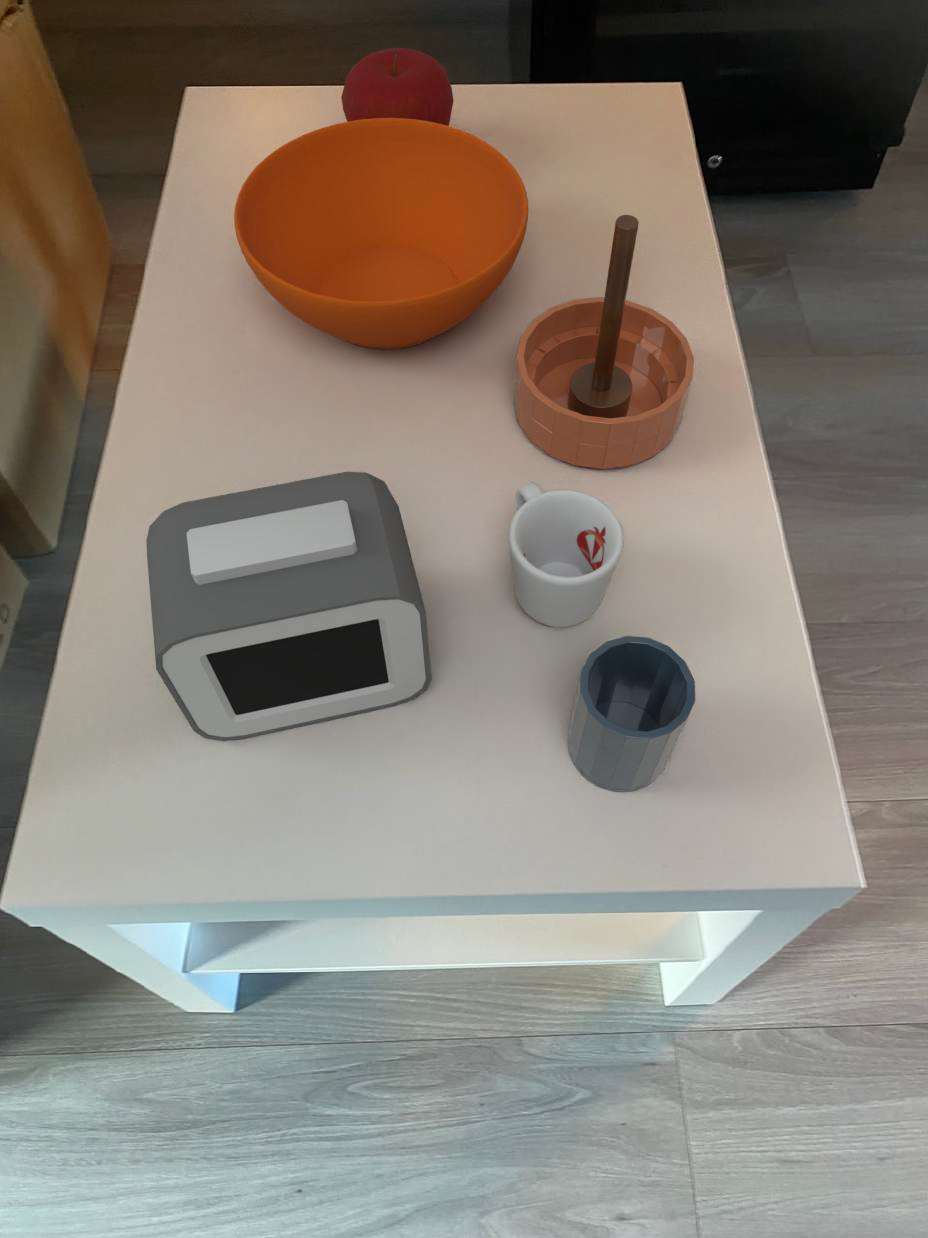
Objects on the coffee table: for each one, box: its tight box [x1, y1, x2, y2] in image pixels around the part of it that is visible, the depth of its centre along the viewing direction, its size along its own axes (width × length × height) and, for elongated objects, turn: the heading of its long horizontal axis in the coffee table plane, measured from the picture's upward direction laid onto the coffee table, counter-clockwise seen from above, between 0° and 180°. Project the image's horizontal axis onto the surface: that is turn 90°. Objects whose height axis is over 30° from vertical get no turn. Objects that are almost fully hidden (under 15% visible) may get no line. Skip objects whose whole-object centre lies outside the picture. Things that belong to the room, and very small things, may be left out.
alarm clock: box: [145, 471, 432, 742], centre depth 63 cm, size 16×11×16 cm
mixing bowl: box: [513, 296, 695, 470], centre depth 79 cm, size 14×14×6 cm
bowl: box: [233, 118, 530, 350], centre depth 85 cm, size 25×25×10 cm
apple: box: [340, 47, 454, 126], centre depth 95 cm, size 11×11×12 cm
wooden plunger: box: [568, 214, 640, 418], centre depth 74 cm, size 5×5×18 cm
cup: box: [508, 482, 625, 628], centre depth 69 cm, size 11×8×8 cm
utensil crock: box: [567, 635, 696, 793], centre depth 62 cm, size 7×7×9 cm
